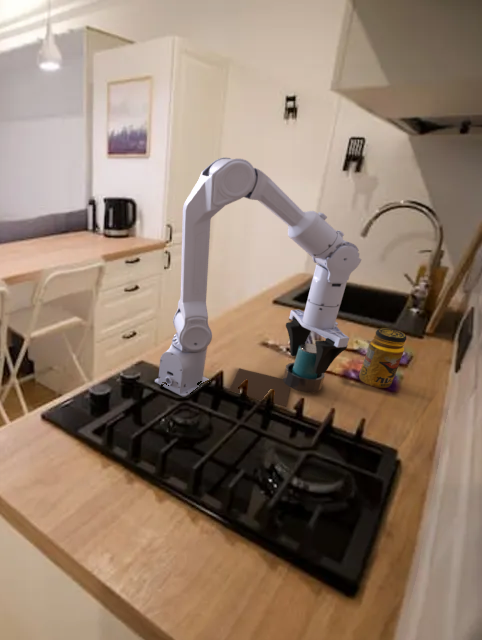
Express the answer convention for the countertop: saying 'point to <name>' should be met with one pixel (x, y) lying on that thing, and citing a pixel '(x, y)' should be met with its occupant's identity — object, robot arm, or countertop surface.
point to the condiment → (383, 358)
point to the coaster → (261, 386)
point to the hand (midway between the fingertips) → (307, 363)
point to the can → (305, 361)
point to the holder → (302, 381)
